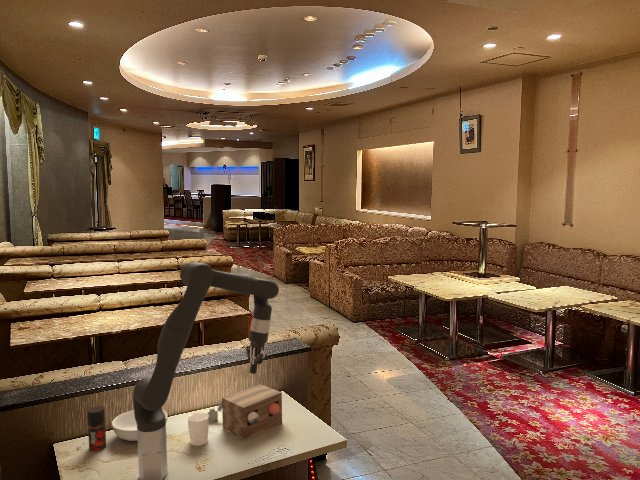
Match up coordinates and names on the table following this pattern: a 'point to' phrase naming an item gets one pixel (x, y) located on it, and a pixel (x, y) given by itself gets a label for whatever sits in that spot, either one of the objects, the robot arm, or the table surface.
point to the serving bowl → (127, 425)
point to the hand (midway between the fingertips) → (252, 373)
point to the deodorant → (96, 428)
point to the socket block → (246, 402)
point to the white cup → (198, 428)
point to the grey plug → (252, 417)
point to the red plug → (274, 408)
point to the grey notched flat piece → (214, 412)
